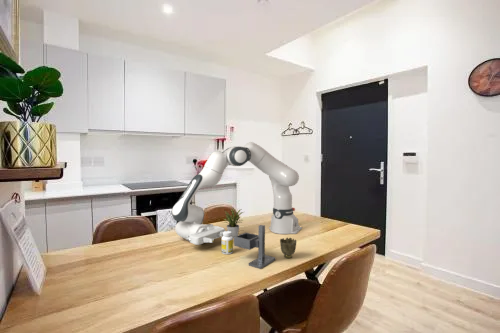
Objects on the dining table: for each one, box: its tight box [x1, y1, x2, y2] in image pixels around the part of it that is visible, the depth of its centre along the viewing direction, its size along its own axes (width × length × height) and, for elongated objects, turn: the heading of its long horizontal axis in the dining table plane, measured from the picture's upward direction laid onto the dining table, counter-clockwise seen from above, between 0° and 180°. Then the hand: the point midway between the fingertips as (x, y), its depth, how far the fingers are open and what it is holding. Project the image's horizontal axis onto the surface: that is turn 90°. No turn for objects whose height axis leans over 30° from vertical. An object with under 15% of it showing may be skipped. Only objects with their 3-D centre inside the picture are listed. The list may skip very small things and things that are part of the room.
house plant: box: [223, 208, 244, 239], centre depth 153 cm, size 14×14×16 cm
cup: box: [279, 237, 298, 259], centre depth 122 cm, size 8×7×8 cm
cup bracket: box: [233, 224, 277, 270], centre depth 118 cm, size 12×15×16 cm
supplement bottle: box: [221, 230, 234, 255], centre depth 128 cm, size 5×5×10 cm
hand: (219, 238), depth 131 cm, fingers open, 8 cm apart
